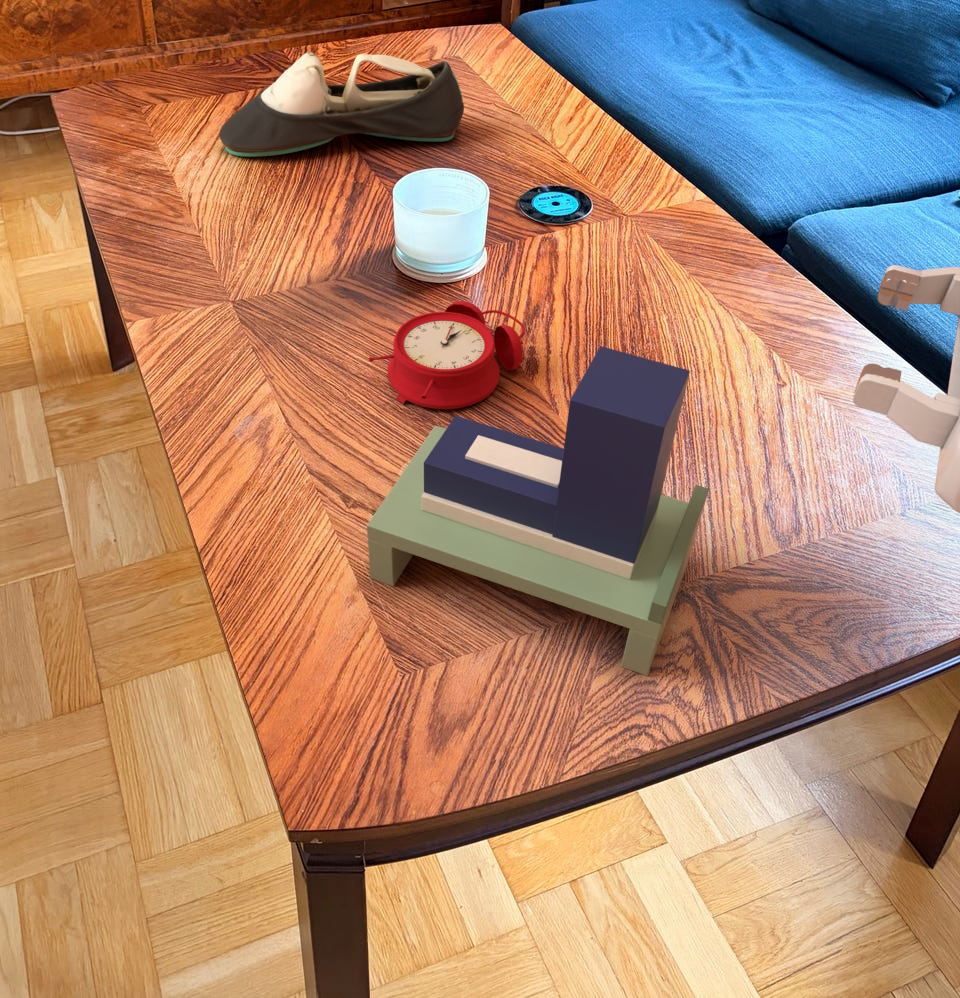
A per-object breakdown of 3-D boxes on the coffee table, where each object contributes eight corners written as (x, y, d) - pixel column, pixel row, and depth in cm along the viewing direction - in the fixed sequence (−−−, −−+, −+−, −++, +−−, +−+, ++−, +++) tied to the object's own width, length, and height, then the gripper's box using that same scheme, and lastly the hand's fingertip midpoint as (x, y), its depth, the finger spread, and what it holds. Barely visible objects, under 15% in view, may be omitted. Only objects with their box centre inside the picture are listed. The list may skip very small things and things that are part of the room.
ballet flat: (217, 130, 127) (203, 46, 119) (449, 109, 133) (450, 28, 126) (225, 169, 120) (211, 82, 112) (470, 145, 126) (472, 61, 119)
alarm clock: (353, 347, 90) (468, 255, 95) (368, 393, 95) (476, 303, 101) (433, 402, 85) (549, 302, 91) (444, 447, 91) (554, 349, 96)
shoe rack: (689, 559, 79) (709, 488, 73) (647, 676, 71) (666, 606, 65) (434, 478, 84) (435, 405, 79) (369, 578, 76) (365, 506, 71)
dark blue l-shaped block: (655, 519, 74) (691, 368, 64) (630, 580, 69) (664, 429, 59) (456, 455, 78) (460, 304, 68) (421, 510, 73) (419, 357, 63)
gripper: (1172, 244, 54) (912, 185, 58) (1201, 495, 41) (863, 400, 45) (1113, 336, 59) (876, 276, 62) (1123, 588, 46) (822, 496, 49)
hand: (870, 330), depth 53 cm, fingers open, 8 cm apart
